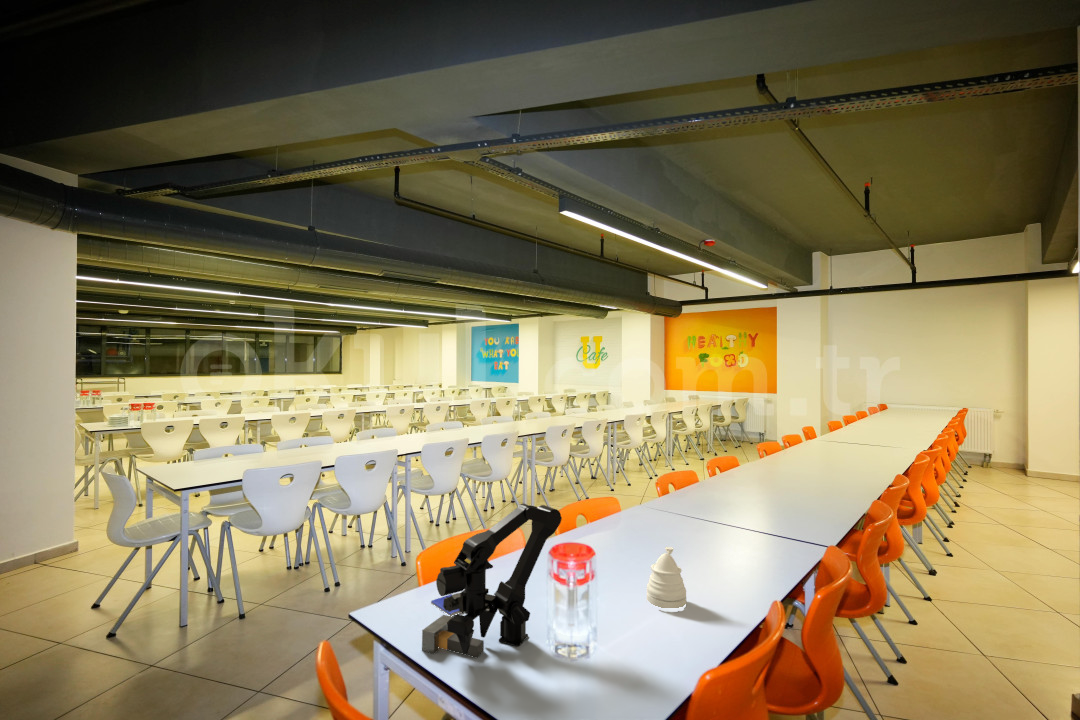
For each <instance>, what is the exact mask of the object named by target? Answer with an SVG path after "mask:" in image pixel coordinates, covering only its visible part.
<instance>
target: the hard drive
mask: <svg viewBox="0 0 1080 720" xmlns="http://www.w3.org/2000/svg"><path fill="white" fill-rule="evenodd" d="M452 595H453V594H449V595H445V596H440V597H438V598H435V599H433V600H431V601H430V604H431V605H432V604H433V605H432V606H434V605H435V606H436V607H435V606H434V607H435V608H437V607H438V608H439V609H438V608H437V609H438V610H440V609H441V610H442V611H444V612H445V613H447V614H448V615H450V616H452V615H455V614H458V613H461V612H459V609H457V610H452V611H451V612H448V610H447V611H446V610H445V609H444V607H443V603H444V599H445V598H446V597H450V596H452ZM441 610H440V611H441ZM442 611H441V612H442ZM444 612H443V613H444ZM445 613H444V614H445ZM447 614H446V615H447ZM461 614H462V613H461ZM448 615H447V616H448ZM458 615H459V614H458ZM452 617H453V616H452Z"/></svg>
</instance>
